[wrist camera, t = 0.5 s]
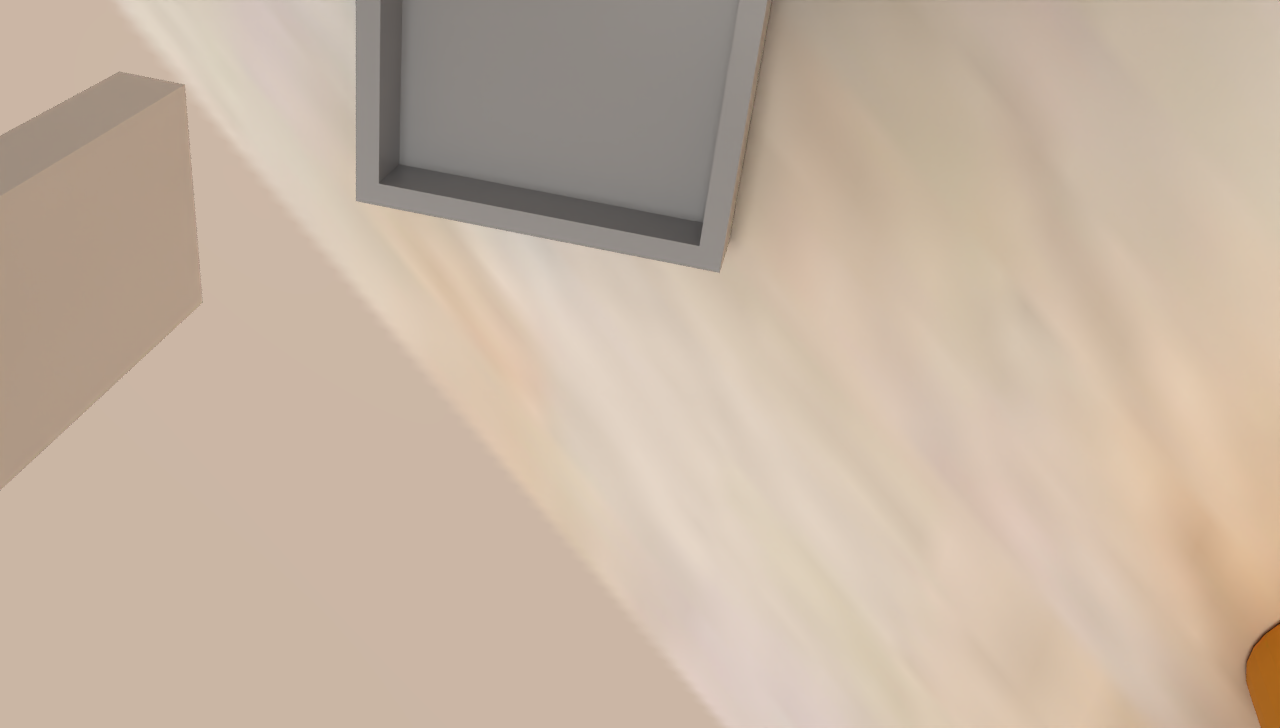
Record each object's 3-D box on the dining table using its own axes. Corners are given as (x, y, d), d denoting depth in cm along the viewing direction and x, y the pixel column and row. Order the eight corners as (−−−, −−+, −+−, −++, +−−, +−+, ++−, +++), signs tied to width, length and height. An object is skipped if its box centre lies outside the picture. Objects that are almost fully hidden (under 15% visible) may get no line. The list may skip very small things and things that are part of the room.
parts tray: (388, -212, 36) (355, -205, 34) (798, -146, 35) (791, -136, 33) (383, 175, 43) (356, 201, 40) (728, 242, 41) (719, 272, 39)
